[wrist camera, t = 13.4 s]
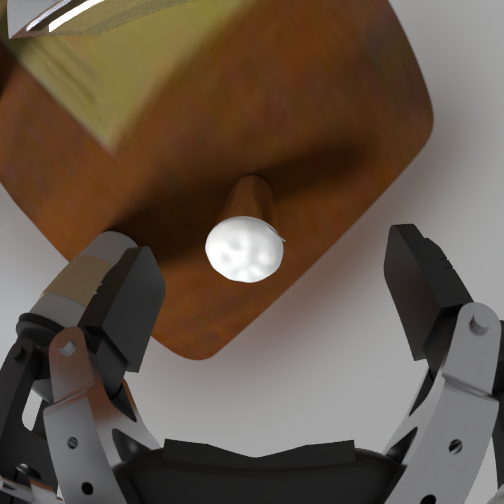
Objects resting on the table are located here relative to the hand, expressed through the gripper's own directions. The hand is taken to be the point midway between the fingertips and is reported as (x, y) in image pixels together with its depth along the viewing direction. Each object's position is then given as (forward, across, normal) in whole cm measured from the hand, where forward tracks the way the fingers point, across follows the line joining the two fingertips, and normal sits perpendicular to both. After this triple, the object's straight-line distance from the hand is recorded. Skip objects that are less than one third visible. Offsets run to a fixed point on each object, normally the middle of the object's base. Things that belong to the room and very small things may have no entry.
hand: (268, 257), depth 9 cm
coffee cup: (+14, +17, +9) cm, 24 cm away
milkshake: (+14, +2, +4) cm, 15 cm away
